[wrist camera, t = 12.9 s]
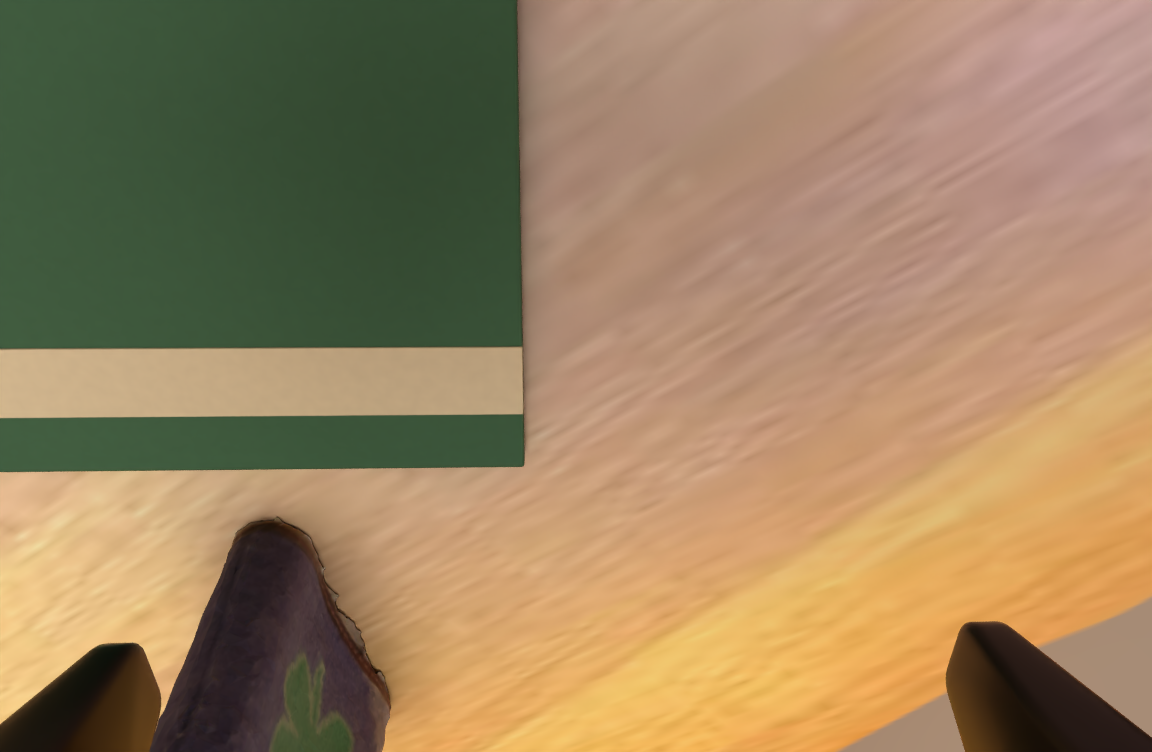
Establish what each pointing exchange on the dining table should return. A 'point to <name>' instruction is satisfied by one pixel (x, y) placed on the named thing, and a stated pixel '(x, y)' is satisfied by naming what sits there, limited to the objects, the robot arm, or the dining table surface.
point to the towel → (259, 235)
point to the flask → (274, 660)
